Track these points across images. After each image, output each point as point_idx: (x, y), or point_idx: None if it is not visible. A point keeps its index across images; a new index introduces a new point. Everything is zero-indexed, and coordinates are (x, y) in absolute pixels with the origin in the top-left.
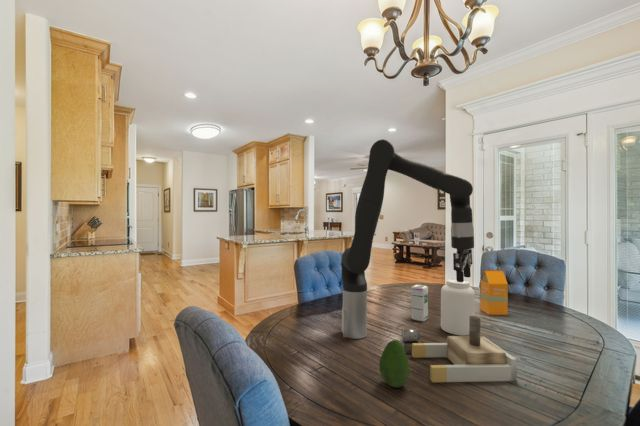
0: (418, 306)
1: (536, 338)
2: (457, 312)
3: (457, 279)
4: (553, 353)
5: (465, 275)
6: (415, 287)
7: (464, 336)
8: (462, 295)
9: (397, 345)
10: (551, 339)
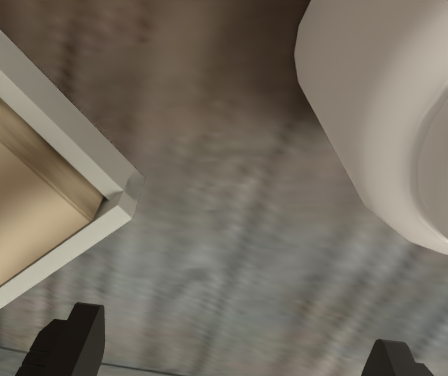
0: None
1: (417, 304)
2: (317, 98)
3: (44, 331)
4: (297, 332)
5: (377, 364)
6: None
7: (22, 168)
8: (356, 184)
9: None
10: (426, 334)
